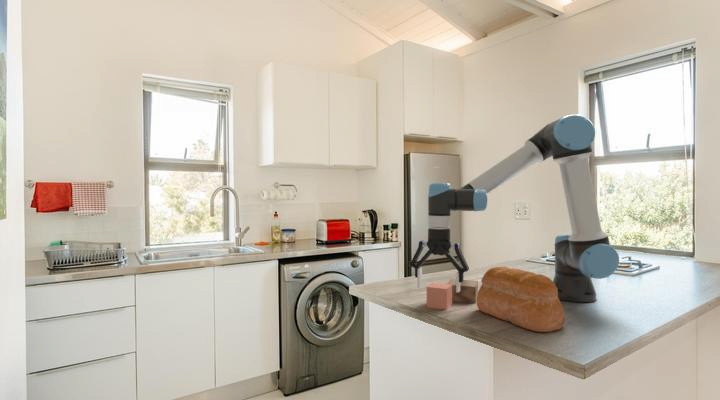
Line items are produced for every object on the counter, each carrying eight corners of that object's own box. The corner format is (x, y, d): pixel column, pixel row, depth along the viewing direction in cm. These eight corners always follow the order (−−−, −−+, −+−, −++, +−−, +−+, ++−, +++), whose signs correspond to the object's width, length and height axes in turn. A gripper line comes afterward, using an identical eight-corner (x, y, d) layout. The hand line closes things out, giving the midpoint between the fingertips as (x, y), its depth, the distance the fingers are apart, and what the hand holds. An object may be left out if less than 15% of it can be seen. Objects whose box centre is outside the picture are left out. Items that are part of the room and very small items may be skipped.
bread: (538, 336, 106) (538, 280, 106) (471, 310, 129) (471, 265, 129) (571, 328, 112) (571, 275, 111) (502, 305, 135) (501, 261, 135)
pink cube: (452, 304, 137) (452, 284, 137) (446, 309, 130) (446, 289, 130) (432, 302, 140) (432, 282, 140) (426, 307, 134) (426, 286, 134)
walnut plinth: (477, 296, 147) (477, 280, 147) (475, 303, 138) (475, 286, 138) (450, 294, 151) (450, 279, 151) (446, 301, 142) (446, 284, 141)
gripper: (478, 228, 132) (477, 291, 133) (408, 225, 144) (408, 283, 144) (473, 230, 126) (473, 296, 126) (401, 227, 137) (400, 287, 138)
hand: (438, 289), depth 135 cm, fingers open, 13 cm apart
